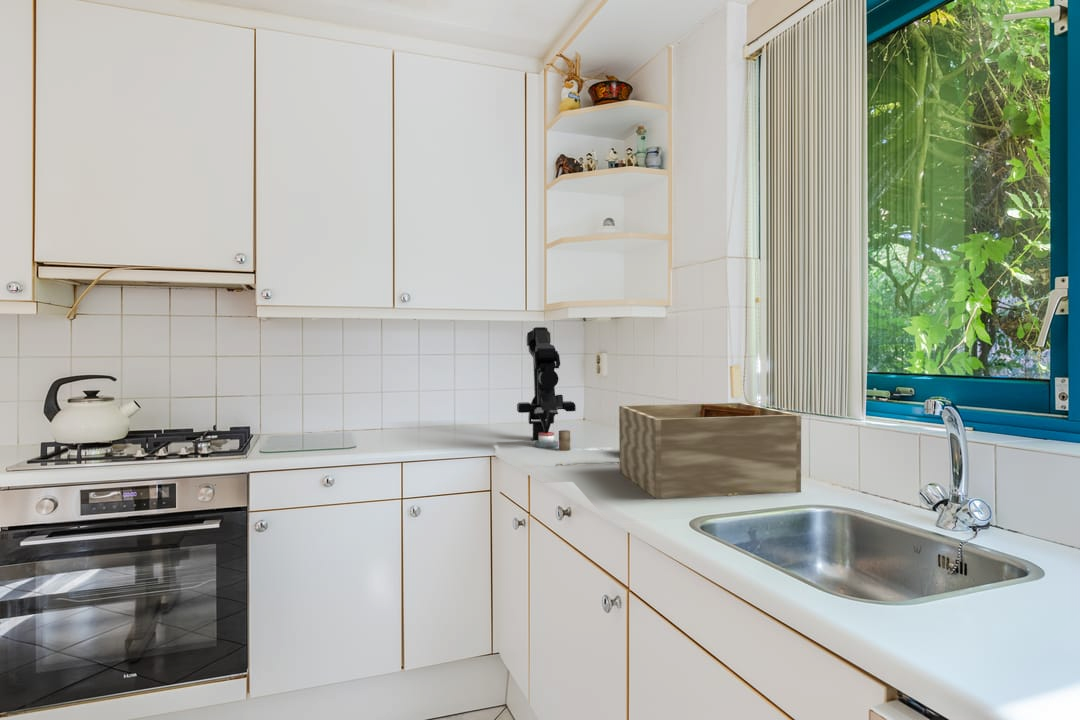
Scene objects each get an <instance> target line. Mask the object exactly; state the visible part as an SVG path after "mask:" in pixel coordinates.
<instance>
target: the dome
mask: <svg viewBox="0 0 1080 720" xmlns="http://www.w3.org/2000/svg"><path fill="white" fill-rule="evenodd" d="M538 435H539V443H554V441H555V432H554V431H553V432H552V431H549V432H548V433H545V432H540V433H538Z"/></svg>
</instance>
